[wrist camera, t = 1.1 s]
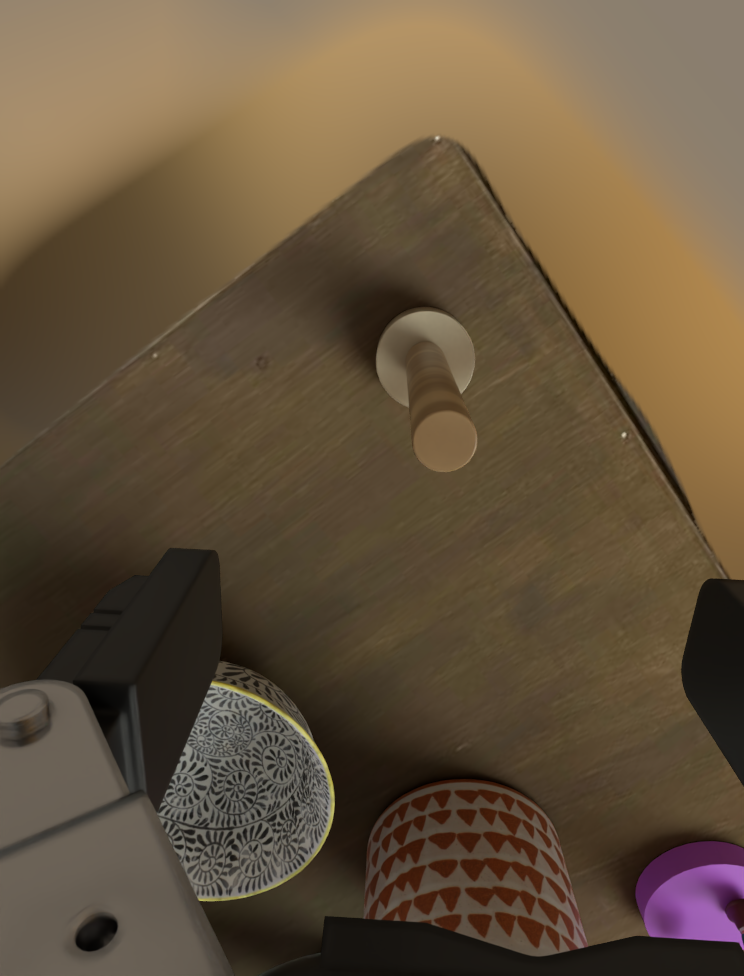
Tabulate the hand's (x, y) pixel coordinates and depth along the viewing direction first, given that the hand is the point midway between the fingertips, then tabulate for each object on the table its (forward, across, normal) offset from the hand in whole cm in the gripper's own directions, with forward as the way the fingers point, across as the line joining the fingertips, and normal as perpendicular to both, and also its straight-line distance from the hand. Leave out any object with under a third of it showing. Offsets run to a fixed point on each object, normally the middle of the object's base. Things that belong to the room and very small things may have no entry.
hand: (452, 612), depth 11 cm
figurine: (+26, -24, +38) cm, 51 cm away
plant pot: (+26, -6, +35) cm, 44 cm away
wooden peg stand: (+26, 0, 0) cm, 26 cm away
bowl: (+26, +11, +24) cm, 37 cm away
